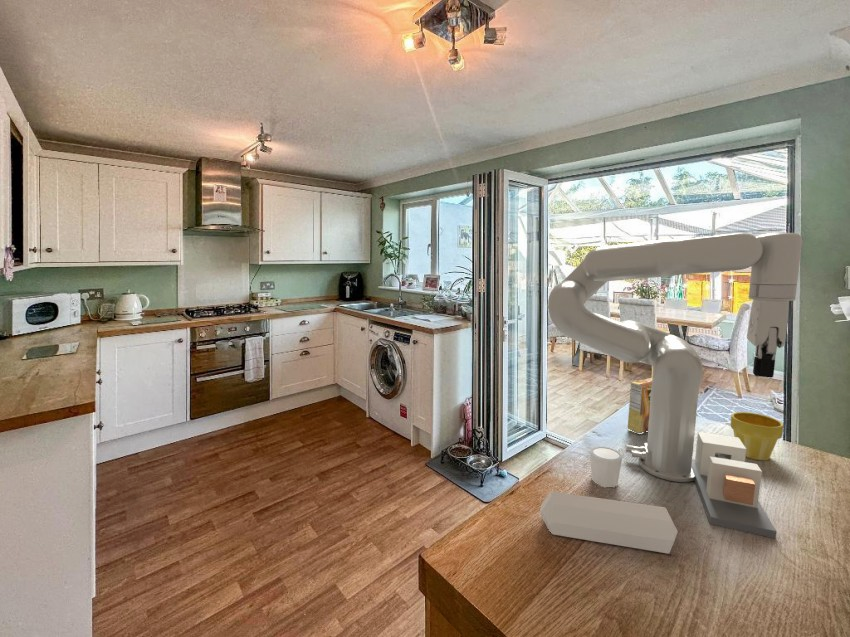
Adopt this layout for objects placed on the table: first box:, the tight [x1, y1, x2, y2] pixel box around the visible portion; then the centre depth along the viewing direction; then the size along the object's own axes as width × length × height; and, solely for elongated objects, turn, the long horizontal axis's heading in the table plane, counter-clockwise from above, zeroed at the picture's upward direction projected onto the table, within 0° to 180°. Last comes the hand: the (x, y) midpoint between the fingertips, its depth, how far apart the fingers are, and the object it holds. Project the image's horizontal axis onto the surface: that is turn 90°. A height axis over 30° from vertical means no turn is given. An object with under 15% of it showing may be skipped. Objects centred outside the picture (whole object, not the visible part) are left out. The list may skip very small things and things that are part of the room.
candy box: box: [627, 377, 653, 433], centre depth 117 cm, size 9×4×15 cm, turn 116°
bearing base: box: [691, 431, 777, 540], centre depth 85 cm, size 24×10×10 cm, turn 154°
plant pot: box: [730, 411, 784, 461], centre depth 102 cm, size 10×10×10 cm
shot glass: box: [589, 446, 623, 488], centre depth 91 cm, size 7×7×7 cm
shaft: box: [715, 453, 755, 505], centre depth 86 cm, size 20×4×4 cm, turn 154°
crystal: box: [539, 491, 679, 555], centre depth 74 cm, size 7×7×24 cm
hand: (762, 375), depth 86 cm, fingers closed
